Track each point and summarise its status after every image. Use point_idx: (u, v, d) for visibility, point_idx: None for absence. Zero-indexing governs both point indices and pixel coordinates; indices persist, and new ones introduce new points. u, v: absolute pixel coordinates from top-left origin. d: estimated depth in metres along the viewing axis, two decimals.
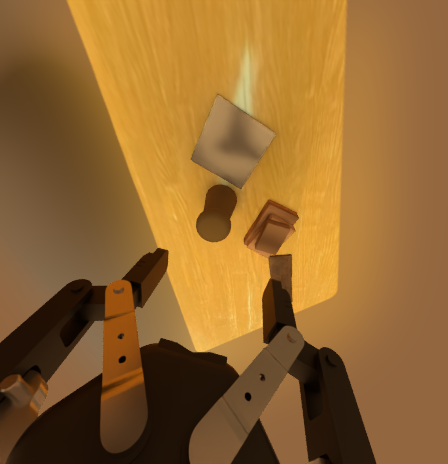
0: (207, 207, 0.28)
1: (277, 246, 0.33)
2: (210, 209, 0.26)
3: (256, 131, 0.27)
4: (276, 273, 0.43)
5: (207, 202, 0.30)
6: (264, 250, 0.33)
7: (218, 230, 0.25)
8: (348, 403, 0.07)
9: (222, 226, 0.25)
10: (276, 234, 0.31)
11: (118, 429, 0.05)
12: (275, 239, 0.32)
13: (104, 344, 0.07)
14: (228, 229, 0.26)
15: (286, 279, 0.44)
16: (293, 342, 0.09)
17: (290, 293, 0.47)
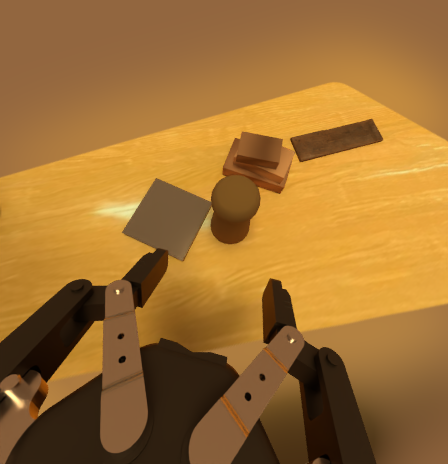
0: (220, 219, 0.21)
1: (268, 139, 0.26)
2: None
3: (153, 195, 0.28)
4: (325, 147, 0.32)
5: (220, 226, 0.23)
6: (278, 152, 0.25)
7: (233, 183, 0.18)
8: (348, 403, 0.07)
9: (227, 179, 0.18)
10: (251, 143, 0.26)
11: (118, 429, 0.05)
12: (258, 143, 0.26)
13: (104, 344, 0.07)
14: (233, 175, 0.19)
15: (332, 134, 0.33)
16: (293, 342, 0.09)
17: (356, 124, 0.34)
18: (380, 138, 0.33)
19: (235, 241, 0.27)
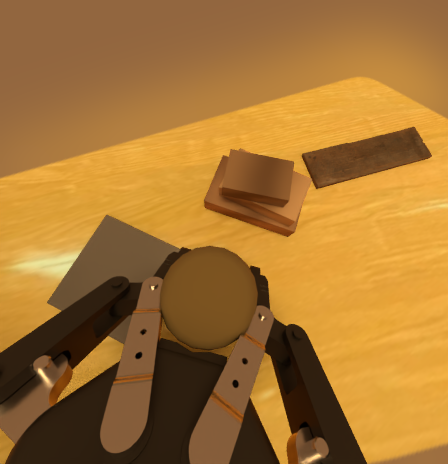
0: None
1: (272, 162, 0.17)
2: None
3: (101, 241, 0.19)
4: (351, 167, 0.23)
5: None
6: (287, 182, 0.16)
7: (201, 275, 0.08)
8: (316, 369, 0.08)
9: (189, 263, 0.09)
10: (244, 168, 0.16)
11: (117, 427, 0.05)
12: (256, 168, 0.16)
13: (128, 335, 0.07)
14: (205, 248, 0.10)
15: (360, 148, 0.23)
16: (263, 319, 0.10)
17: (392, 134, 0.24)
18: (427, 154, 0.23)
19: None
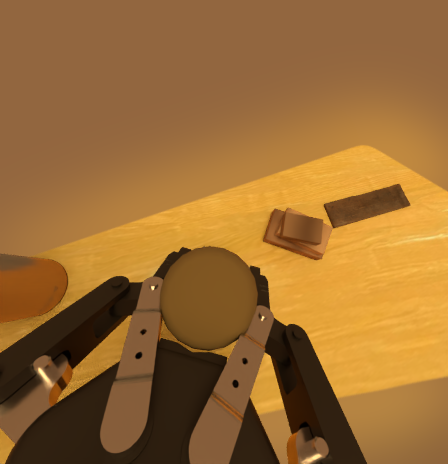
0: None
1: (310, 220, 0.29)
2: None
3: None
4: (356, 213, 0.35)
5: None
6: (320, 232, 0.28)
7: (201, 275, 0.08)
8: (315, 369, 0.08)
9: (189, 264, 0.09)
10: (295, 224, 0.29)
11: (117, 427, 0.05)
12: (301, 224, 0.29)
13: (128, 335, 0.07)
14: (205, 249, 0.10)
15: (362, 200, 0.35)
16: (263, 319, 0.10)
17: (384, 189, 0.36)
18: (407, 204, 0.35)
19: None
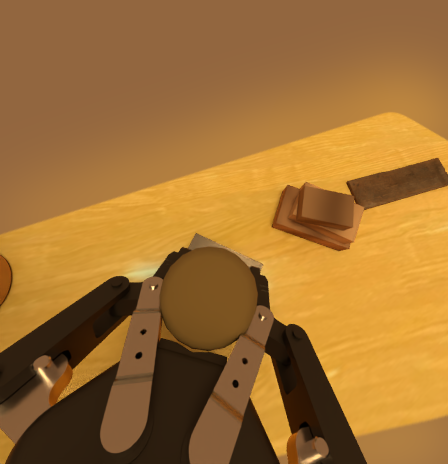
0: None
1: (337, 196, 0.22)
2: None
3: None
4: (387, 193, 0.28)
5: None
6: (350, 212, 0.21)
7: (201, 275, 0.08)
8: (315, 369, 0.08)
9: (189, 264, 0.09)
10: (317, 201, 0.21)
11: (117, 427, 0.05)
12: (326, 201, 0.21)
13: (128, 335, 0.07)
14: (204, 249, 0.09)
15: (394, 176, 0.28)
16: (263, 319, 0.10)
17: (420, 164, 0.29)
18: None
19: None
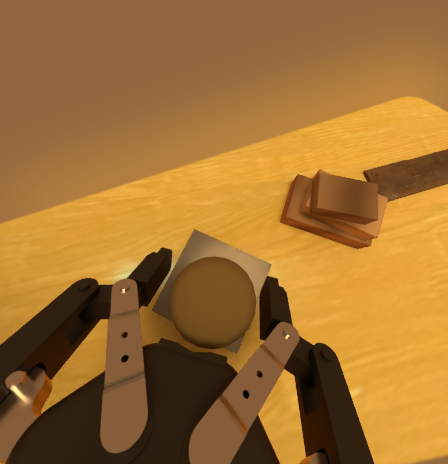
0: None
1: (358, 184, 0.19)
2: None
3: (192, 254, 0.21)
4: (410, 183, 0.24)
5: None
6: (374, 203, 0.18)
7: (206, 283, 0.10)
8: (342, 397, 0.07)
9: (196, 272, 0.10)
10: (335, 190, 0.18)
11: (118, 429, 0.05)
12: (345, 190, 0.18)
13: (108, 342, 0.07)
14: (209, 259, 0.11)
15: (416, 165, 0.25)
16: (288, 338, 0.09)
17: (445, 152, 0.26)
18: None
19: None
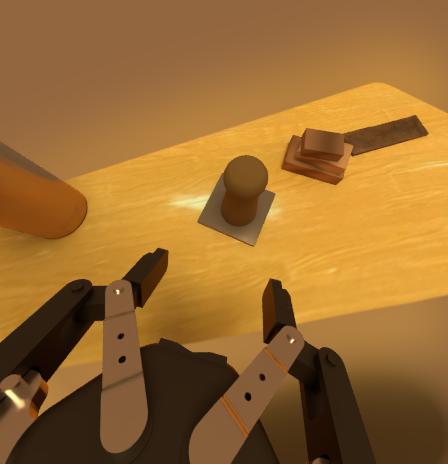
0: (231, 198, 0.23)
1: (331, 134, 0.29)
2: (224, 183, 0.21)
3: (222, 187, 0.31)
4: (374, 142, 0.34)
5: (230, 207, 0.25)
6: (341, 145, 0.28)
7: (243, 162, 0.20)
8: (348, 403, 0.07)
9: (238, 159, 0.20)
10: (316, 138, 0.28)
11: (118, 429, 0.05)
12: (322, 138, 0.28)
13: (104, 344, 0.07)
14: (243, 156, 0.21)
15: (379, 130, 0.35)
16: (293, 342, 0.09)
17: (401, 120, 0.36)
18: (425, 132, 0.35)
19: (244, 223, 0.28)
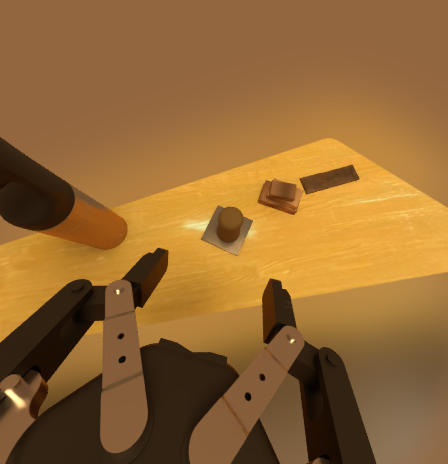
0: (222, 229, 0.39)
1: (288, 184, 0.44)
2: None
3: (217, 216, 0.47)
4: (322, 184, 0.50)
5: (222, 232, 0.41)
6: (294, 192, 0.44)
7: (229, 212, 0.36)
8: (348, 403, 0.07)
9: (226, 209, 0.36)
10: (278, 187, 0.44)
11: (118, 429, 0.05)
12: (282, 187, 0.44)
13: (104, 344, 0.07)
14: (229, 207, 0.37)
15: (326, 175, 0.51)
16: (293, 342, 0.09)
17: (342, 168, 0.52)
18: (357, 178, 0.51)
19: (231, 241, 0.44)
